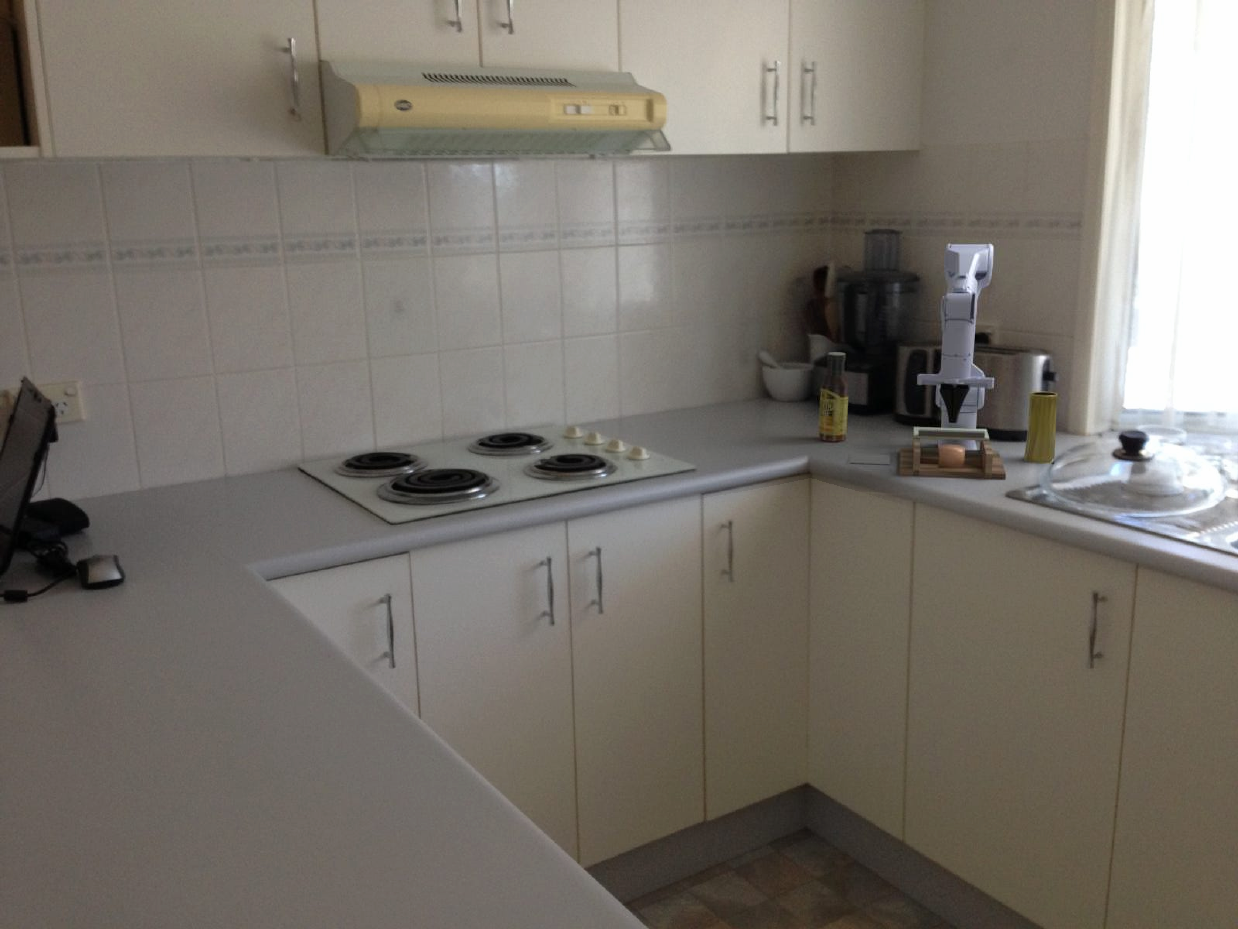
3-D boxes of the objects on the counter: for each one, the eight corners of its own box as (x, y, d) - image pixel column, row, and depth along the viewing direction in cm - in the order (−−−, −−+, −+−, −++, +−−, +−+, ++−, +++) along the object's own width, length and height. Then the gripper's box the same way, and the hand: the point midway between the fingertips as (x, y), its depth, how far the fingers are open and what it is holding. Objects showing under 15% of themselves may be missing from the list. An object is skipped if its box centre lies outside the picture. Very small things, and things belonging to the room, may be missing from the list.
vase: (1027, 456, 242) (1031, 389, 239) (1057, 459, 239) (1062, 392, 236) (1020, 462, 237) (1025, 394, 234) (1051, 466, 234) (1056, 397, 231)
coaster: (851, 456, 245) (851, 453, 245) (890, 458, 243) (890, 455, 243) (849, 465, 238) (850, 462, 238) (889, 466, 236) (889, 464, 236)
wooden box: (900, 454, 247) (901, 429, 245) (997, 457, 242) (999, 432, 241) (899, 476, 228) (900, 450, 227) (1005, 481, 223) (1007, 454, 222)
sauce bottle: (813, 438, 263) (814, 352, 258) (835, 435, 266) (837, 350, 261) (829, 444, 257) (831, 355, 253) (852, 441, 260) (855, 353, 255)
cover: (913, 429, 245) (914, 421, 245) (986, 431, 242) (986, 424, 242) (913, 438, 237) (914, 430, 237) (989, 440, 233) (989, 433, 233)
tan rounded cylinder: (937, 465, 234) (938, 444, 233) (963, 466, 233) (964, 445, 232) (938, 471, 230) (939, 449, 229) (964, 472, 229) (965, 450, 227)
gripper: (915, 355, 226) (912, 423, 229) (991, 358, 220) (987, 428, 223) (922, 350, 232) (919, 416, 235) (997, 354, 226) (993, 421, 229)
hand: (953, 422), depth 230 cm, fingers closed
